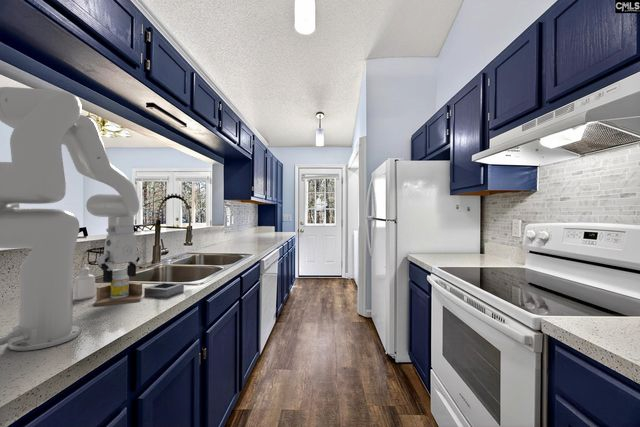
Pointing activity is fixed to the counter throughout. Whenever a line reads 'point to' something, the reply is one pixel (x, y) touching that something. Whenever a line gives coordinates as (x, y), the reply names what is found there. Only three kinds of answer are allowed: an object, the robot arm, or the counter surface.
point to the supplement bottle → (120, 284)
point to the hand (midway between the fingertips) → (120, 278)
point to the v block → (106, 299)
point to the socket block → (163, 290)
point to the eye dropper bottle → (84, 284)
